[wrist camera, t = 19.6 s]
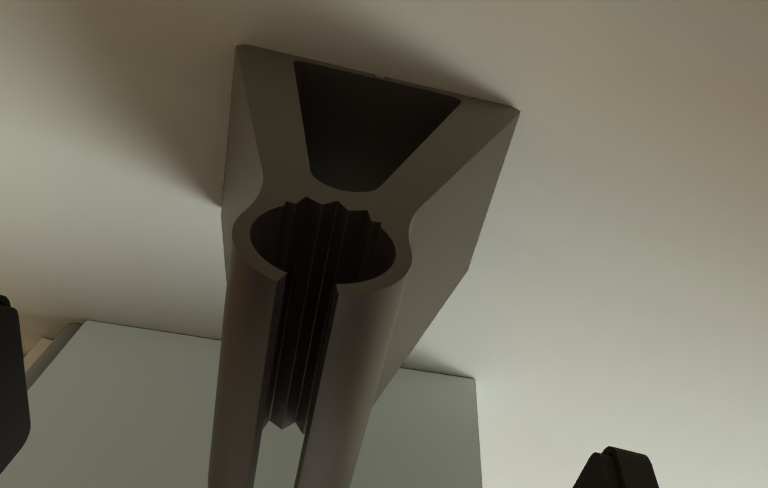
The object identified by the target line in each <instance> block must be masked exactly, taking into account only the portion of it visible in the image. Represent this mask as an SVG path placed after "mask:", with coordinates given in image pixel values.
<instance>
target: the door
mask: <svg viewBox="0 0 768 488" xmlns="http://www.w3.org/2000/svg"><path fill="white" fill-rule="evenodd" d="M220 348H221V341H220V340H214V339H207V338H201V337H194V336H187V335H181V334H174V333H168V332H161V331H155V330H148V329H141V328H135V327H128V326H122V325H115V324H109V323H102V322H96V321H89V320H86V321H85V323H84V324H83V325H80V324H77V323H70V324H68V325H66V327H65V328H64V329H63V330H62V331H61V332H60V333H59V335H58V336H57V337H56V338H55V339H54V340H53V341H52V343H51V344H50V345H49V346H48V347H47V348H46V350H45V351H44V352H43V353H42V354H41V355H40V356H39V358H38V359H37V360H36V361H35V362H34V363H33V365H32V366H31V367H30V368H29V369H28V370H27V371H26V373H25V377H26V386H27V394H28V403H29V412H30V421H31V429H30V433H29V436H28V438H27V440H26V442H25V444H24V446H23V447H22V448H21V450H20V451H19V452H18V453H17V455H16V456H15V457H14V458H13V460H12V461H11V462H10V463H9V464H8V466H7V467H6V468H5V469H4V471H3V472H2V473H1V474H0V488H208V470H209V460H210V450H211V440H212V430H213V419H214V409H215V399H216V389H217V379H218V369H219V358H220ZM304 436H305V434H302V432H301V431H300V429H299V427H298V426H297V424H296V423H293V424H291V425H290V426H288V427H286V428H284V429H283V430H281V429H280V428H279V427H277V426H276V425H275V424H273V423H272V422H270V421H269V422H268V423H267V425H266V426H265V427H264V429H263V430H262V435H261V442H260V448H259V455H258V461H257V467H256V474H255V480H254V487H253V488H294V484H295V479H296V474H297V469H298V465H299V460H300V455H301V450H302V445H303V440H304ZM350 488H482V474H481V459H480V443H479V428H478V413H477V398H476V382H475V379H470V378H463V377H456V376H450V375H443V374H437V373H430V372H424V371H417V370H410V369H404V368H399V369H398V371H397V372H396V374H395V375H394V376H393V378H392V379H391V381H390V382H389V384H388V385H387V386H386V388H385V389H384V391H383V392H382V394H381V395H380V396H379V398H378V399H377V401H376V402H375V404H374V405H373V406H372V409H371V412H370V416H369V419H368V423H367V427H366V430H365V434H364V438H363V441H362V445H361V448H360V452H359V456H358V459H357V463H356V466H355V470H354V474H353V477H352V481H351V485H350Z"/></svg>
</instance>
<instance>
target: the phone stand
mask: <svg viewBox="0 0 768 488" xmlns="http://www.w3.org/2000/svg"><path fill="white" fill-rule="evenodd" d="M519 114H520V111H519V110H517V109H516V108H513V107H511V106H507V105H503V104H498V103H494V102H490V101H485V100H481V99H477V98H473V97H468V96H464V95H460V94H456V93H451V92H447V91H443V90H438V89H434V88H430V87H426V86H421V85H417V84H413V83H409V82H404V81H400V80H396V79H392V78H387V77H386V78H380V77H377V76H375V75H374V74H370V73H366V72H362V71H357V70H353V69H349V68H345V67H340V66H336V65H332V64H328V63H323V62H319V61H315V60H310V59H306V58H302V57H298V56H293V55H289V54H285V53H281V52H276V51H272V50H268V49H264V48H259V47H255V46H251V45H243V44H241V45H236V49H235V60H234V72H233V83H232V95H231V107H230V118H229V130H228V141H227V153H226V164H225V176H224V187H223V199H222V210H221V221H222V233H223V245H224V257H225V269H226V281H227V287H226V297H225V307H224V318H223V328H222V338H221V348H220V358H219V369H218V379H217V389H216V399H215V409H214V419H213V430H212V440H211V450H210V460H209V470H208V488H253V487H254V480H255V474H256V467H257V461H258V455H259V448H260V442H261V435H262V430H263V429H264V427H265V426H266V425H267V423H268V422H269V421H270V422H272V423H273V424H275V425H276V426H277V427H279V428H280V429H281V430H283V429H284V428H286V427H288V426H290V425H291V424H293V423H296V424H297V426H298V427H299V429H300V431H301V432H302V434H305V436H304V440H303V445H302V450H301V455H300V460H299V465H298V469H297V474H296V479H295V484H294V488H350V485H351V481H352V477H353V474H354V470H355V466H356V463H357V459H358V456H359V452H360V448H361V445H362V441H363V438H364V434H365V430H366V427H367V423H368V419H369V416H370V412H371V409H372V406H373V405H374V404H375V402H376V401H377V399H378V398H379V396H380V395H381V394H382V392H383V391H384V389H385V388H386V386H387V385H388V384H389V382H390V381H391V379H392V378H393V376H394V375H395V374H396V372H397V371H398V369H399V368H400V366H401V365H402V364H403V362H404V361H405V359H406V358H407V356H408V355H409V354H410V352H411V351H412V349H413V348H414V346H415V345H416V344H417V342H418V341H419V339H420V338H421V336H422V335H423V334H424V332H425V331H426V329H427V328H428V326H429V325H430V324H431V322H432V321H433V319H434V318H435V316H436V315H437V314H438V312H439V311H440V309H441V308H442V306H443V305H444V303H445V302H446V301H447V299H448V298H449V296H450V295H451V293H452V292H453V291H454V289H455V288H456V286H457V285H458V283H459V282H460V281H461V279H462V278H463V276H464V275H465V273H466V272H467V270H468V267H469V264H470V261H471V258H472V255H473V252H474V249H475V246H476V243H477V240H478V237H479V234H480V231H481V228H482V225H483V222H484V219H485V216H486V213H487V210H488V207H489V204H490V201H491V198H492V195H493V192H494V189H495V186H496V183H497V180H498V177H499V174H500V171H501V168H502V165H503V162H504V159H505V156H506V153H507V150H508V147H509V144H510V141H511V138H512V135H513V132H514V129H515V126H516V123H517V120H518V117H519Z"/></svg>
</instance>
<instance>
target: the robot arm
mask: <svg viewBox="0 0 768 488" xmlns="http://www.w3.org/2000/svg"><path fill="white" fill-rule="evenodd" d="M30 429H31V421H30V412H29V403H28V394H27V386H26V377H25V368H24V360H23V351H22V342H21V333H20V325H19V316H18V312H17V310H16V309H15V308H12V307H11V305H10V302H9V300H8V298H7V297H5V296H2V295H0V474H1V473H2V472H3V471H4V469H5V468H6V467H7V466H8V464H9V463H10V462H11V461H12V460H13V458H14V457H15V456H16V455H17V453H18V452H19V451H20V450H21V448H22V447H23V446H24V444H25V442H26V440H27V438H28V436H29V433H30ZM573 488H659V486H658V483H657V480H656V477H655V474H654V470H653V467H652V464H651V462H650V460H649V458H648V457H647V456H646V455H643V454H639V453H635V452H631V451H627V450H623V449H619V448H615V447H611V446H608V447H607V448H605V449H604V451H603V452H602V454H601V453H596V452H595V453H593V454H592V455H591V456H590V458H589V460H588V462H587V463H586V465H585V467H584V469H583V470H582V472H581V474H580V476H579V477H578V479H577V481H576V483H575V485H574V486H573Z"/></svg>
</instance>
